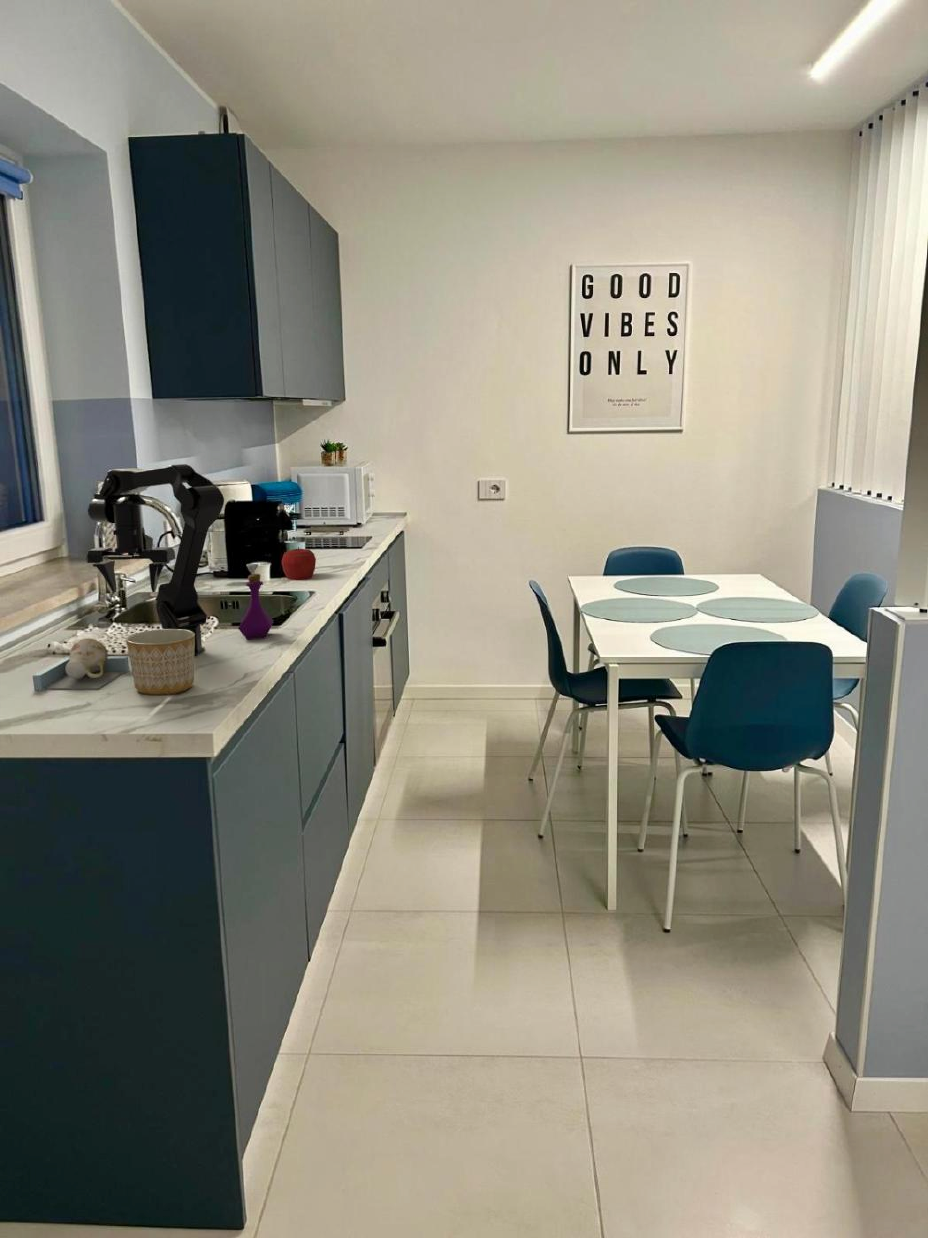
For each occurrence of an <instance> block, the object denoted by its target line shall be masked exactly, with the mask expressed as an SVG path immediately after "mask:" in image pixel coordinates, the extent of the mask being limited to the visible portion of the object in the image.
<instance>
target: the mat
mask: <svg viewBox="0 0 928 1238" xmlns="http://www.w3.org/2000/svg"><path fill="white" fill-rule="evenodd" d="M98 673H100V671H96V672H94V673H93V674H98ZM124 673H125V672H124V671H104V673H103V675H102V676H101V677H98V678H90V677H89V676H88V675H87V674H85V675H84V676H83V677H82V678H80V679H73V678H71V677H70V676H68V675H67V676H65V677H63V678H62V679H60V680H58V681H57V682H55V683H53V684H51V685H50V686H48V687H46V688H45V690H46V691H48V690H49V691H50V690H52V691H53V690H54V691H55V690H56V691H57V690H62V691H63V690H64V691H65V690H68V691H69V690H72V691H73V690H75V691H77V690H82V691H83V690H86V691H87V690H88V691H89V690H90V691H91V690H93V691H94V690H97V691H99V690H100V689H102V688H103V687H105V686H107V685H108V684H110V683H111V682H112V681H114V680H115V679H117V678H118V677H120V676H121V675H123V674H124Z"/></svg>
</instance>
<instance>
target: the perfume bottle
mask: <svg viewBox="0 0 928 1238" xmlns="http://www.w3.org/2000/svg"><path fill="white" fill-rule="evenodd" d="M246 567H247V570H248V571H249V573H250V574H249V575H248V576H247V579H248V581H247V582H246V583H245V585H246V586H247V587H248V589H249V590H250V599H249V600H250V602H249V606H248V609H247V611H246V613H245V615H244V617H243V618H242V620H241V622H240V624H239V625H238V629H237V630H239V631H240V633H241V634H242V636H243V638H245V639H246V640H254V639H256V640H257V639H266V638H267V636H268V634H269V632H270V630H271V628H272V627H273V624H274V619H272V618H271V616H269V615H268V614H267V612H266V611H265V610H264V608H263V607H262V604H261V601H260V588H261V586H263V585H264V582H263V581H261V574H260V573H255V571H256V570H257V568H258V567H259V564H257V563H247V564H246Z"/></svg>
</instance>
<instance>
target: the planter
mask: <svg viewBox="0 0 928 1238" xmlns="http://www.w3.org/2000/svg"><path fill="white" fill-rule="evenodd" d="M126 646H127V647H126V648H127V652H128V656H129V657H128V659H129V662H130V666H131V667H130V668H131V673H132V677H133V679H132V680H133V683H134V684H133V685H134V687H135V689H136V690H137V691H138V692H139V693H140V694H144V695H150V696H162V695H163V696H164V695H170V694H171V695H172V694H178V693H181V692H184V691H186V690H188V689H190V688H191V687H192V686H193V684H194V682H195V656H194V649H195V634H194V632H192V631H189V630H183V629H163V628H161V629H153V630H144V631H141V632H136V633H133V634H131V635H129V636H127V637H126Z"/></svg>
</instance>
